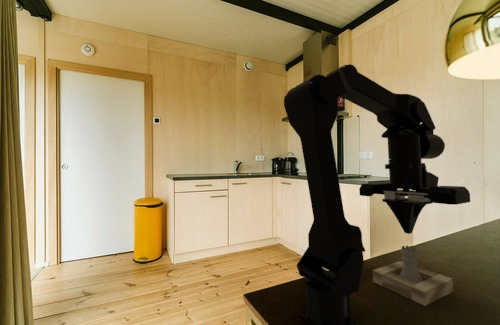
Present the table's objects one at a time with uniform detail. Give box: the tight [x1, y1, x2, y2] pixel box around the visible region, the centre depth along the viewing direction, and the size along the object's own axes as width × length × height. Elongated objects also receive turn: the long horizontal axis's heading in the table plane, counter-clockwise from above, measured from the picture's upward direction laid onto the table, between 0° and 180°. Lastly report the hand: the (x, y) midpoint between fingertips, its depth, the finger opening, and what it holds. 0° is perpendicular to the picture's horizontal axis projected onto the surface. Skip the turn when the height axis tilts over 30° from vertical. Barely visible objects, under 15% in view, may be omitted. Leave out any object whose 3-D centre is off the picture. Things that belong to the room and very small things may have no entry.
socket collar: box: [372, 260, 454, 307], centre depth 47 cm, size 10×10×2 cm
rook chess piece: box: [399, 245, 423, 283], centre depth 47 cm, size 4×4×8 cm
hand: (408, 233), depth 47 cm, fingers closed
